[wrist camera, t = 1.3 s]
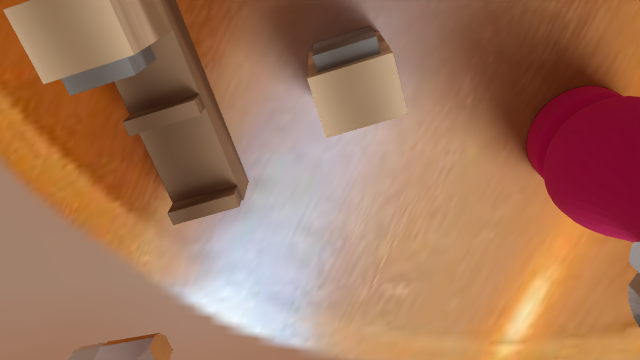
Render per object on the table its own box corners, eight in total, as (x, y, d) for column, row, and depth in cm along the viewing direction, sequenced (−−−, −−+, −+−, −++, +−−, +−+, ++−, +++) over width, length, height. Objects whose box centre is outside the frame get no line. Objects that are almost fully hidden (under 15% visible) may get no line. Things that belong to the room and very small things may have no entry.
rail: (153, -55, 26) (85, -52, 19) (248, 181, 32) (226, 258, 24) (83, -30, 27) (-12, -18, 19) (189, 198, 32) (149, 278, 25)
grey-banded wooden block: (374, 16, 28) (388, 34, 22) (391, 82, 29) (408, 114, 24) (304, 38, 28) (301, 61, 23) (324, 102, 30) (326, 138, 24)
